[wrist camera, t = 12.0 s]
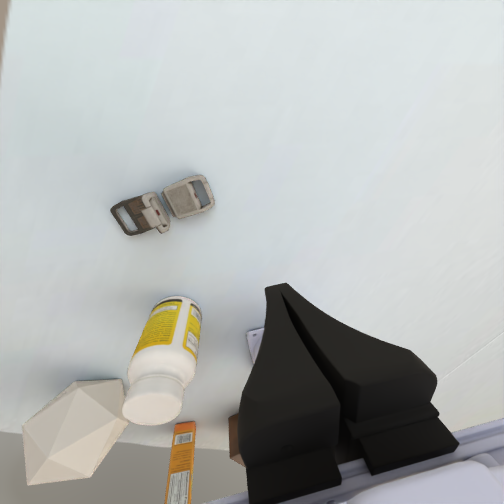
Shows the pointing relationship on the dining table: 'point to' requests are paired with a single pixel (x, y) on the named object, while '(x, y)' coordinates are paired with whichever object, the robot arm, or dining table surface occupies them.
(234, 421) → the walnut block
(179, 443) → the supplement box
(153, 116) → the dining table surface
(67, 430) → the die
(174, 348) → the supplement bottle
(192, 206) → the strap clip
